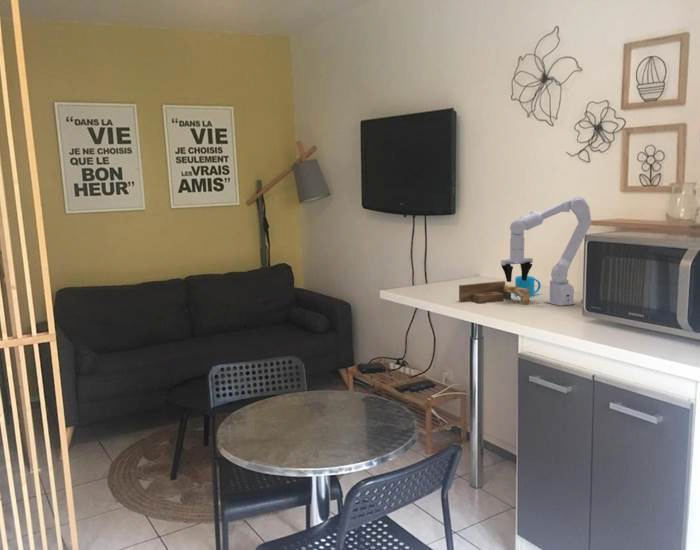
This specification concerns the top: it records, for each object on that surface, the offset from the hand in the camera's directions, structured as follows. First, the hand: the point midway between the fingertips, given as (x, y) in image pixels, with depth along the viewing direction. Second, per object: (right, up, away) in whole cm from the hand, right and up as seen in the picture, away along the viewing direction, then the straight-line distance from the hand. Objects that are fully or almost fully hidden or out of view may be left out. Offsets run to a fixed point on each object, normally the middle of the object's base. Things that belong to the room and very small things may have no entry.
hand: (516, 281), depth 266 cm
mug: (+9, -7, +14) cm, 18 cm away
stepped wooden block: (-11, -9, +4) cm, 15 cm away
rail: (0, -9, +1) cm, 9 cm away
